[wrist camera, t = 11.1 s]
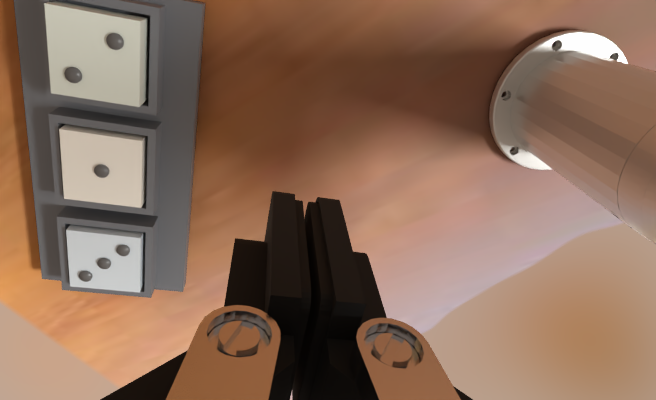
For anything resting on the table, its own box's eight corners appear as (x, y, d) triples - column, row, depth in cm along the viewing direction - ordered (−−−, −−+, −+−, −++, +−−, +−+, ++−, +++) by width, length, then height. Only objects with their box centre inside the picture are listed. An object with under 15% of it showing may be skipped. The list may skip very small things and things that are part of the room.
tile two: (147, 18, 32) (139, 21, 30) (146, 100, 35) (138, 107, 33) (57, 1, 31) (42, 3, 29) (62, 86, 34) (49, 93, 32)
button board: (205, 2, 35) (198, 6, 32) (185, 282, 47) (178, 305, 44) (21, -34, 33) (-6, -34, 30) (49, 269, 44) (32, 292, 41)
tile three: (146, 226, 41) (139, 239, 39) (145, 279, 44) (139, 294, 42) (75, 218, 40) (65, 231, 38) (78, 273, 43) (69, 287, 41)
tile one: (148, 132, 37) (141, 141, 35) (147, 197, 40) (140, 209, 38) (69, 121, 36) (57, 130, 34) (73, 188, 39) (62, 199, 37)
